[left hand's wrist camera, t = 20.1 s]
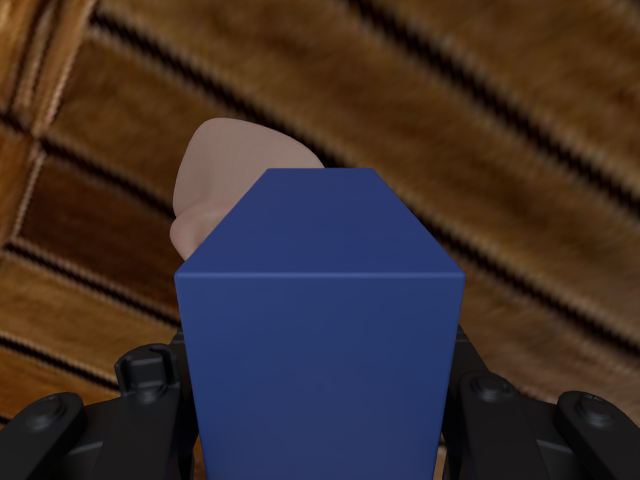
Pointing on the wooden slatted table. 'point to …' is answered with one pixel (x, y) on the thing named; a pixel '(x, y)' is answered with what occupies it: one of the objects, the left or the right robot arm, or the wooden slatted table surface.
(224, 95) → the wooden slatted table surface
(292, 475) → the brick
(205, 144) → the anatomical model
